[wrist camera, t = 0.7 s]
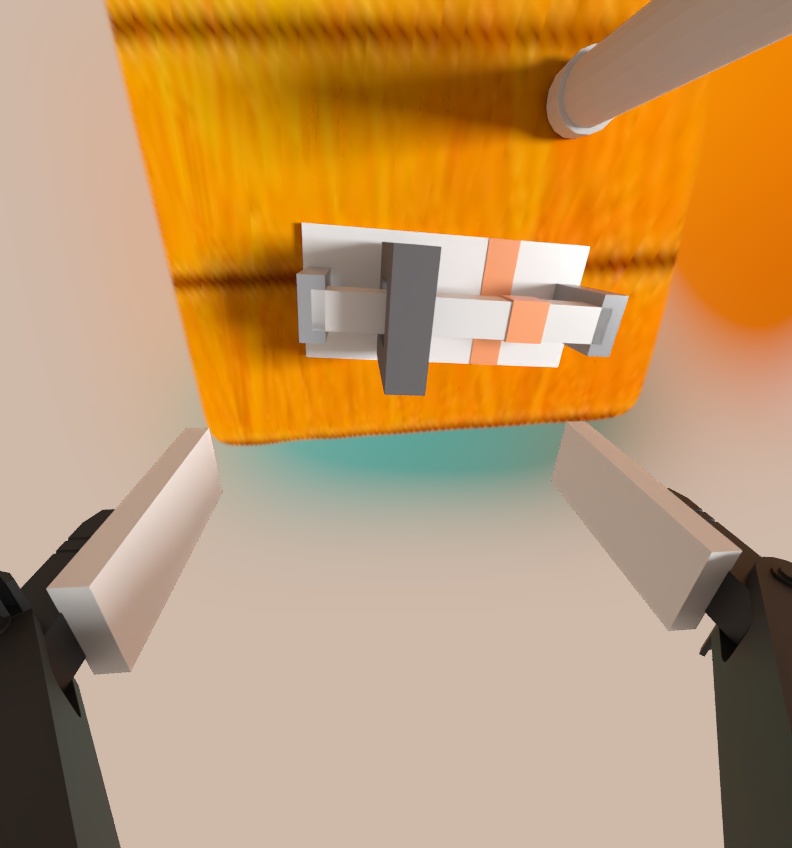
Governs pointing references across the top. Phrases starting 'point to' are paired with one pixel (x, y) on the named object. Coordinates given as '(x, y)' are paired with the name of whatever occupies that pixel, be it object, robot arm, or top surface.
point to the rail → (451, 280)
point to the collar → (407, 315)
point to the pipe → (659, 57)
